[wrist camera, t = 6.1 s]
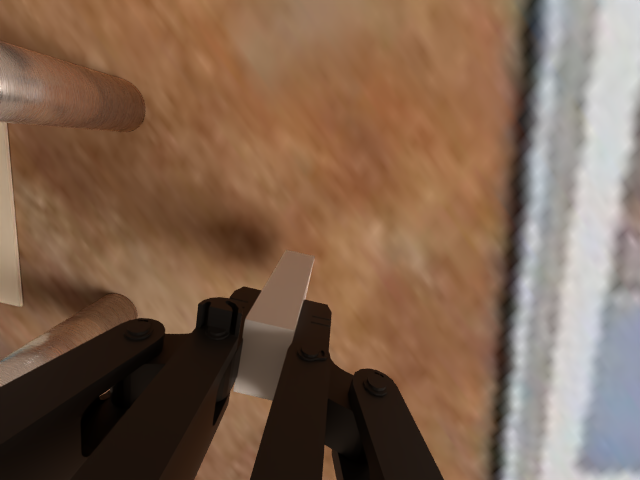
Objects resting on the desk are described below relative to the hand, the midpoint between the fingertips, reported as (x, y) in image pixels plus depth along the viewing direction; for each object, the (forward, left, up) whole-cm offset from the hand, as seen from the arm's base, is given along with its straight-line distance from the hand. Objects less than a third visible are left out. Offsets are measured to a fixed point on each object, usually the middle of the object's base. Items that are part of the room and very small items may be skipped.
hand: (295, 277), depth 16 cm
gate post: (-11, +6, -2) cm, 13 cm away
